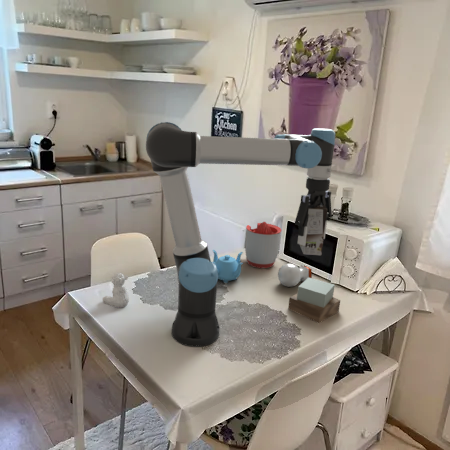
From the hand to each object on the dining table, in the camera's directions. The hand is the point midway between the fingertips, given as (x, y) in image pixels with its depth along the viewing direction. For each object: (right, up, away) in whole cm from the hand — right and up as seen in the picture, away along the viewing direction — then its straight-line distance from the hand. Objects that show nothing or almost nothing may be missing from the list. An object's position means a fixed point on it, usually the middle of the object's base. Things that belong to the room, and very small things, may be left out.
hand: (311, 241), depth 146 cm
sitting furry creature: (-67, -22, +4) cm, 71 cm away
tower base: (+3, -26, +9) cm, 28 cm away
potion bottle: (-2, -19, +29) cm, 35 cm away
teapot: (-29, -17, +30) cm, 45 cm away
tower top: (+3, -21, +8) cm, 23 cm away
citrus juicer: (-14, -12, +48) cm, 51 cm away
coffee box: (0, -3, +1) cm, 4 cm away
